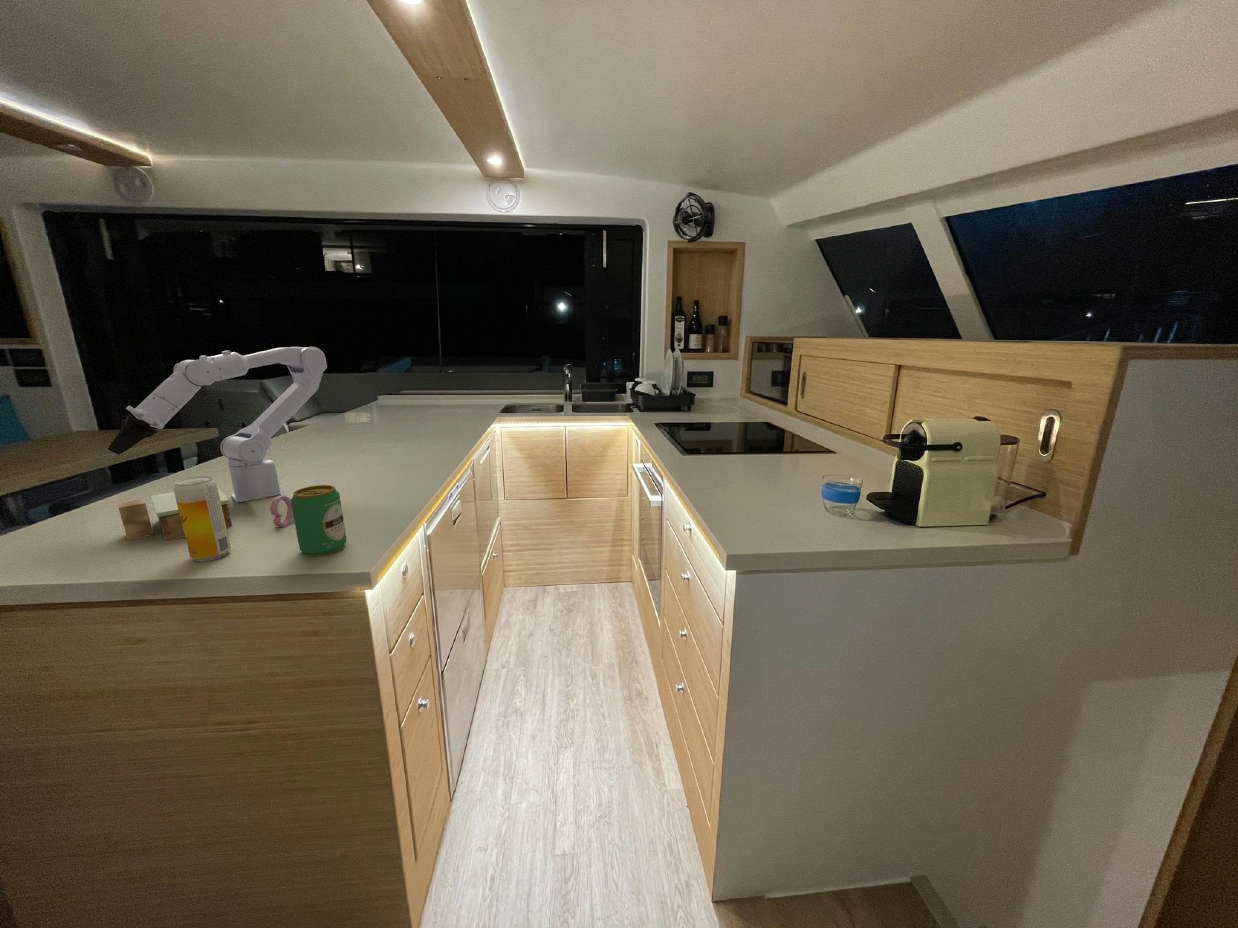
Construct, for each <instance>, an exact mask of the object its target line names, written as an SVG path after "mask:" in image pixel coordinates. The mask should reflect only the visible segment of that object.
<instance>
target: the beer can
mask: <svg viewBox="0 0 1238 928" xmlns="http://www.w3.org/2000/svg"><path fill="white" fill-rule="evenodd" d="M217 484H218V483H217V482H216V481H215V479H213V476H209V475H208V476H207V475H205V476H203V475H200V476H193V477H186V478H183V479H179V480H177V481H175V482H174V486H173V492H174V494H175V498H176V502H177V506H178V510H179V514H180V518H181V522H182V526H183V530H184V534H185V536H184V537H185V542H186V546H187V551H188V553H189V558H191V559H193V560H194V561H195V562H208V561H214V560H217V559H221V558H223V557H225V556H226V555H228V554H229V551H230V550H231V549H232V547H231V543H230V538H229V534H228V529H227V528H228V527H226V524H225V519H224V515H223V510H222V506H221V501H220V497H219V492H218V488H217V486H218V485H217Z"/></svg>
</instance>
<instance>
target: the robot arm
mask: <svg viewBox="0 0 1238 928" xmlns="http://www.w3.org/2000/svg"><path fill="white" fill-rule="evenodd" d="M275 364H280V365H286V367H287V368H288V370H289V372H290V374H291V377H292V382H293V383H291V385H290V386H289V387H288V388H287V389H286V390H285V391H284V392H283V393H282V394H281V395H280V396H279V397H278V398H276V400H275V401H274V402H273V403H272V404H270V405H269V407H267V408H266V409H265V410H264V411H263V412H262V413H261V414H260V415H259V416H258V417H257V418H256V419H255V420H254V421H253V422H252V423H251V424H249V425H248V426H246V427H243V428H241V429H239V430H238V431H237V432H236V433H234V434H233V435H229V436H227V437H225V438H224V439H223V440H222V442H221V443H220V452H221V454H222V456H224V458H226V459H227V460H228V462H227V465H228V469H229V474H230V480H231V483H232V488H233V493H232V494H231V495H230V496H231V498H232V499H233V500H234V501H235V503H236V504H237V503H238V504H239V503H244V502H249V501H254V500H258V499H259V500H260V499H264V498H269V497H273V496H274V497H276V496H281V495H282V493H281V488H280V484H279V483H280V482H279V479H278V478H279V477H278V473H277V468H276V464H275V462H274V461H273V460H272V459H267V460H264V458H265V457H266V455H267V451H268V449H269V448H270V447H271V445H273V444H272V443H273V442H272V437H274V435H275V434H276V433H277V432H278V431H279V430H280V429H281V428H282V427H283V426H284V425H285V424H287V422H288V421H289V420H290V419H291V418H292V417H293V416H294V415H295V414H296V413H297V412H298V411H299V409H300V408H302V407H303V406H304V405H305V403H307V402H308V400H309V399H310V398H312V397H313V395H315V394H316V392H318V390H319V386H320V385H321V384H320V383H321V381H322V376H323V373H324V372H325V370H327V368H328V364H327V359H326V355H325V353H324V352H323V350H321V348H318V347H316V346H308V347H302V346H289V347H287V346H286V347H276V348H271V349H267V350H264V351H263V350H262V351H257V352H254V353H250V354H245V355H242V354H240V353H239V352H235V351H233V352H232V351H231V350H224V351H221V354H217V355H211V356H207V355H200V356H199V359H185V360H182V361H180V362H176V364H175V365H174V366H173V369H172V370H173V373H172V374H170V376H169V377H167V378H166V379H164V380H163V382H162V383H160V384H159V385H158V386H157V387H156V388H155V389H154V390H153V391H152V392H151V393H150V394H149V395H148V396H147V397H146V398H145V399H144V400H142V401H141V403H139V404H138V405H137V406H136V407H135V408H134V407H132V406H131V405H128V406H127V407H126V408H125V409H126V410H127V411H128V412H130V413H131V414H128V415H127V416H126V419H122V420H123V421H122V424H121V426H120V428H119V429H120V430H119V431H118V433H117V435H116V436H115V438H114V439H113V440H112V441H111V443H110V445H109V446H108V448H107V450H108V451H110V452H112V453H114V454H116V455H118V456H120V455H121V454H123V453H124V452H127V451H128V450H130V449H131V448H133V447H134V446H135V445H137V444H138V443H139V442H141V441H142V440H144V439H148V438H150V437H153V436H154V435H155V434H158V433H159V431H158V430H156V429H159V430H162V429H164V428H165V425H166V424H167V423H168V422H169V421H170V420H171V419H172V418H173V417H175V415H176V414H177V413H178V412H179V411H180V410H181V409H182V408H184V406H185V405H186V404H187V403H188V402H189V401H190V400H191V399H192V398H193V397H194V396H195V394H196V393H197V392H198V391H199V390H201V388H202V387H203V386H211V385H212V384H214V383H215V382H221V381H224V380H228V379H233V378H236V377H237V378H238V377H241V376H245V375H246V374H247V373H248V371H249V369H252V368H259V367H263V366H268V365H269V366H270V365H275ZM155 428H156V429H155Z"/></svg>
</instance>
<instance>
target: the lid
mask: <svg viewBox="0 0 1238 928" xmlns="http://www.w3.org/2000/svg"><path fill="white" fill-rule="evenodd" d="M217 488H218V492H219V497H220V501H221V505H223V504H227V505H228V504H229V498H227V496H226V495H225V494H224V492H223V491H222V490H221V489H220V488H219V486H218V485H217ZM150 498H151V501H152V504H153V507H154V510H155V513H156V516H157V518H158V517H162V516H167V515H172V514H177V513H179V510H178V506H177V502H176V498H175V494H174V491H172V492H167V493H166V492H165V493H159V494H155V495H150Z"/></svg>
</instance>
